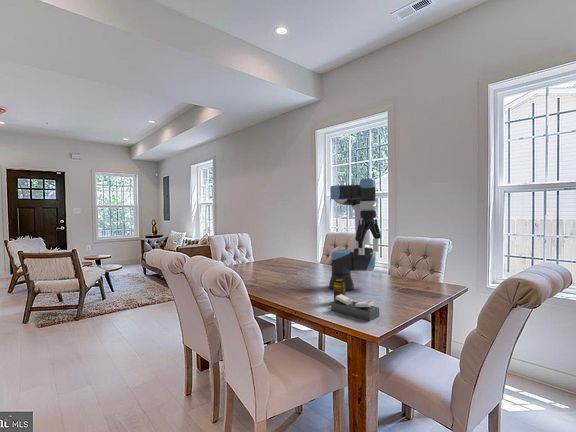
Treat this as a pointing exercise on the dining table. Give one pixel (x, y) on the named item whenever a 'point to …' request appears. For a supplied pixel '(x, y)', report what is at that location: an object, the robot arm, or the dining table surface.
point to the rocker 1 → (344, 299)
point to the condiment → (339, 288)
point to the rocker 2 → (364, 304)
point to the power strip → (355, 310)
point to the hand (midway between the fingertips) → (368, 253)
